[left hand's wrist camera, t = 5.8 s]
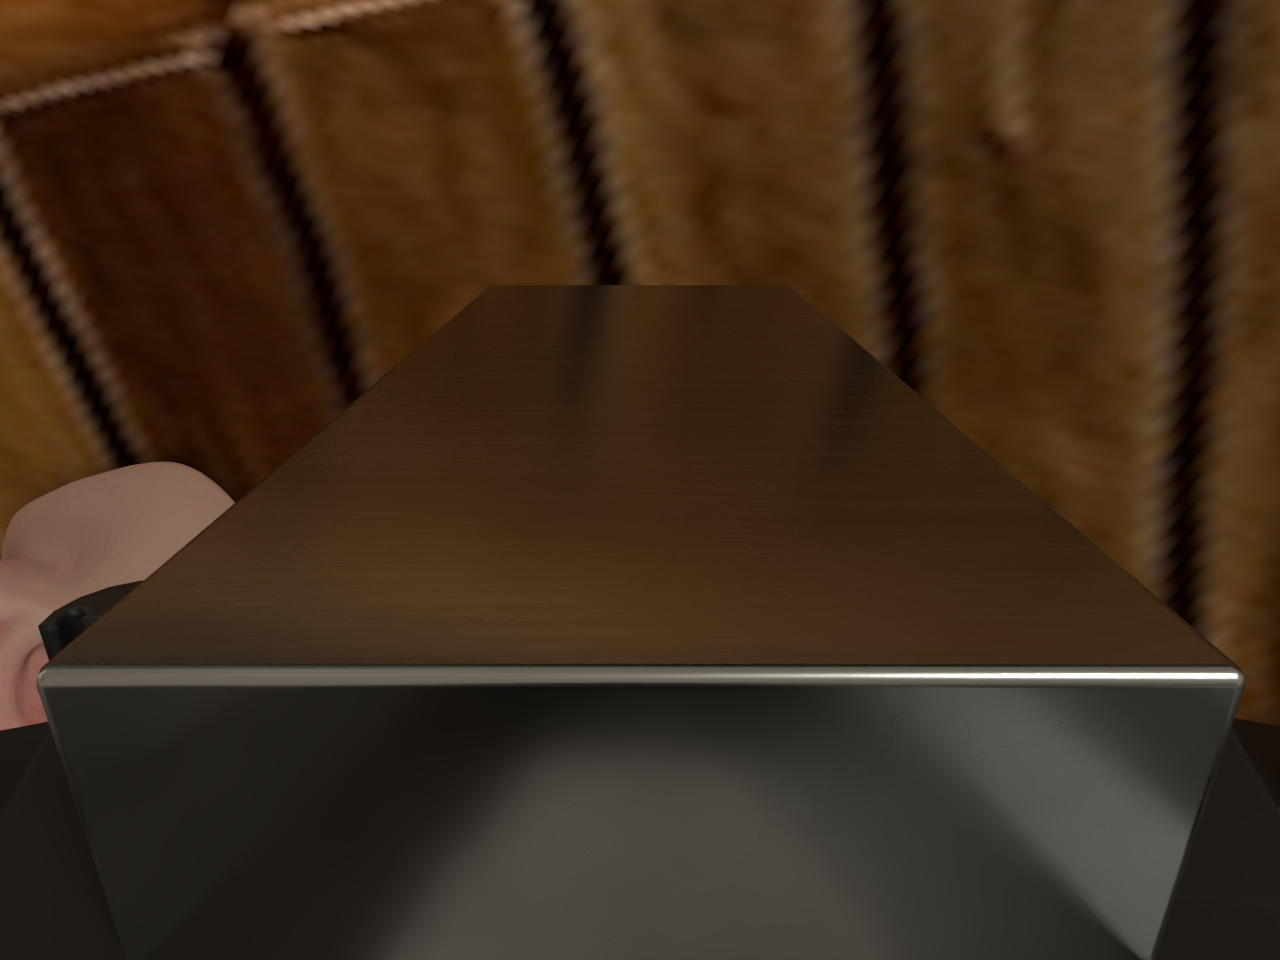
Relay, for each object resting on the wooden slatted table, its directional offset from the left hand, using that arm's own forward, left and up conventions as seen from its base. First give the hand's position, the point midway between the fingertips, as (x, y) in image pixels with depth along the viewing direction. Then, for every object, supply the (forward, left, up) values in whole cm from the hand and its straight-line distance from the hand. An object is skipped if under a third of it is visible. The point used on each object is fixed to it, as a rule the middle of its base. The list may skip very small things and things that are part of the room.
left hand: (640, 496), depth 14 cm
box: (-10, +3, -3) cm, 11 cm away
